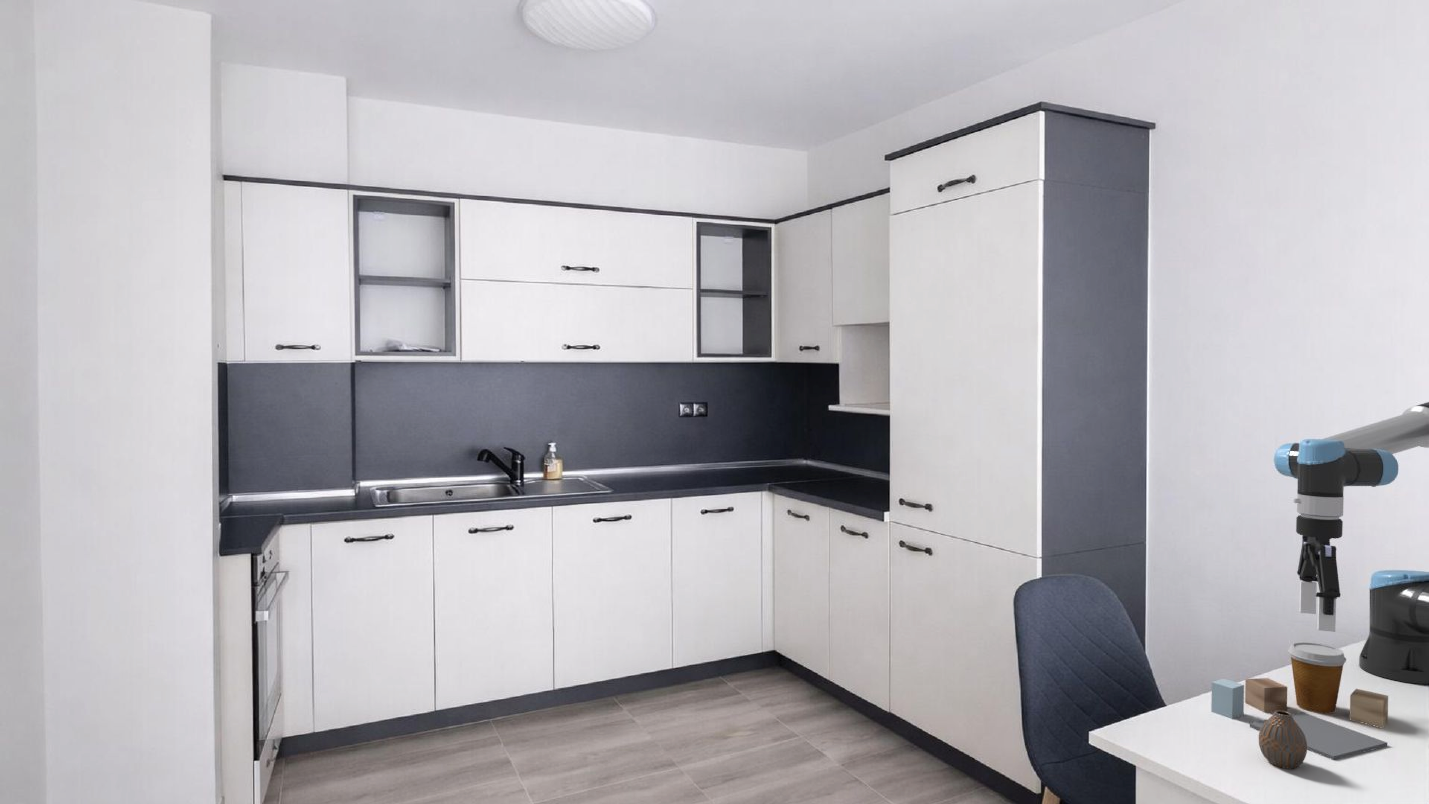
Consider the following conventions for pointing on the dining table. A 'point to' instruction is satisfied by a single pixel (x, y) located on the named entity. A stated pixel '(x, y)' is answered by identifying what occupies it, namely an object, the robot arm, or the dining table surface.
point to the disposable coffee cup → (1316, 675)
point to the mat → (1331, 737)
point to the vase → (1282, 740)
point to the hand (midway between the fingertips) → (1316, 621)
